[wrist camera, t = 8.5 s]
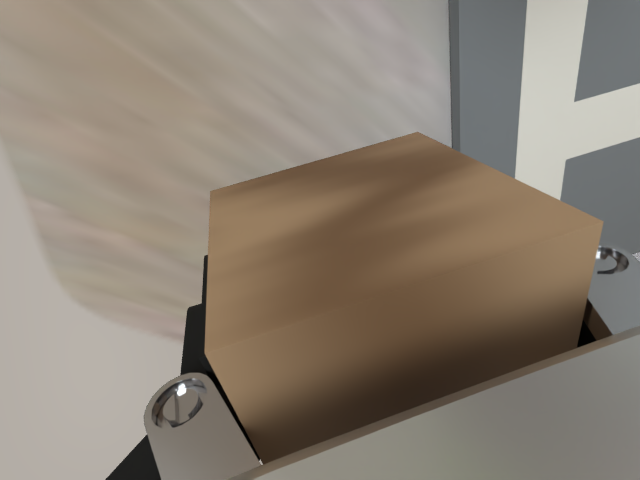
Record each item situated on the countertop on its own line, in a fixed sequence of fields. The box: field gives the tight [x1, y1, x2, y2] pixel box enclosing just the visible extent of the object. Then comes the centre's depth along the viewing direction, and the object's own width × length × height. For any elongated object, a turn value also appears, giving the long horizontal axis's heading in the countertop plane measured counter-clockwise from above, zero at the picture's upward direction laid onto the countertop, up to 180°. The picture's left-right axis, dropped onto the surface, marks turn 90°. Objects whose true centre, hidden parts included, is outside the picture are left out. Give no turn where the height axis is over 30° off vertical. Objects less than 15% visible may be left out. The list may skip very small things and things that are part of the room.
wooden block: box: [205, 132, 604, 465], centre depth 9 cm, size 6×6×6 cm
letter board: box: [449, 0, 640, 254], centre depth 16 cm, size 16×16×1 cm
